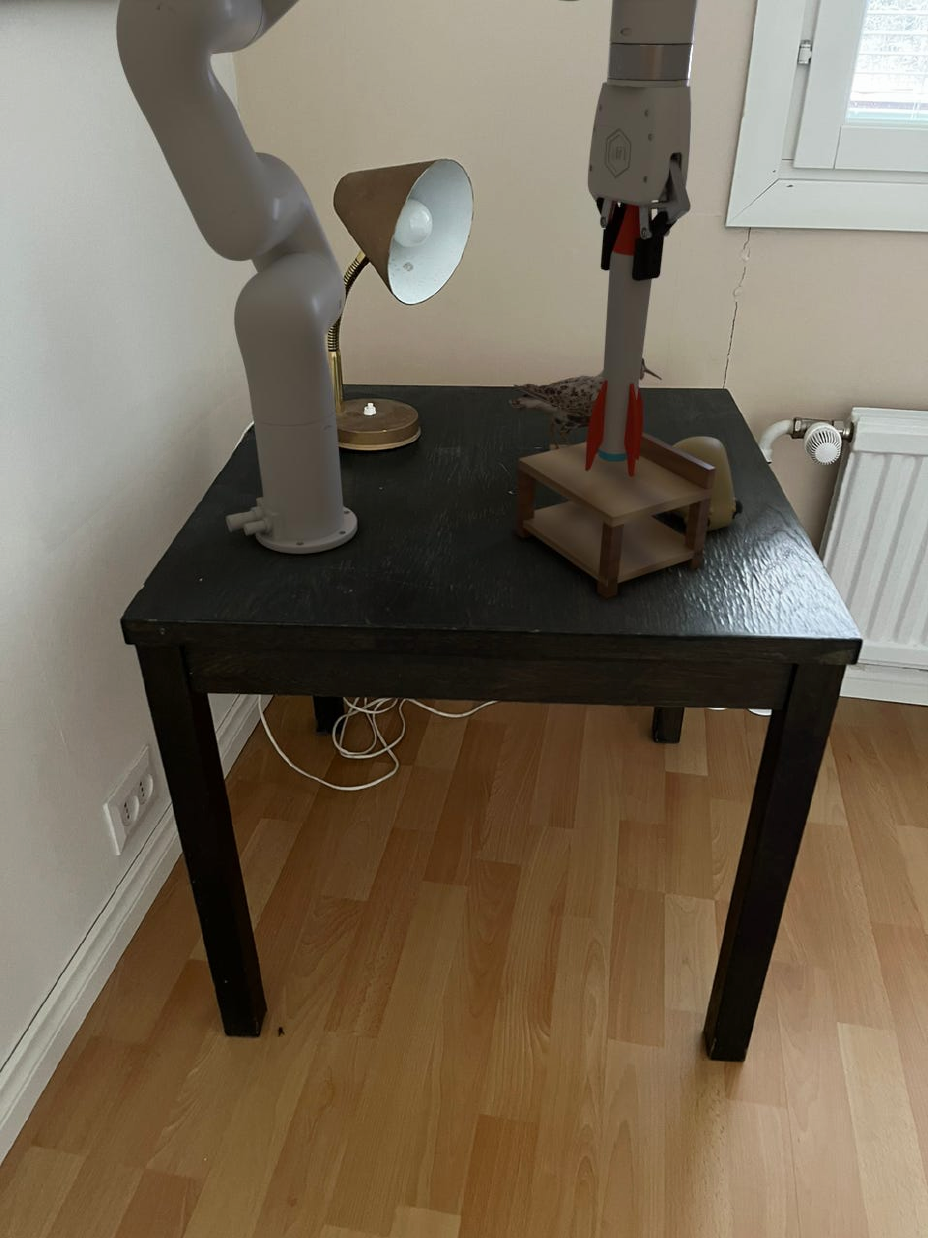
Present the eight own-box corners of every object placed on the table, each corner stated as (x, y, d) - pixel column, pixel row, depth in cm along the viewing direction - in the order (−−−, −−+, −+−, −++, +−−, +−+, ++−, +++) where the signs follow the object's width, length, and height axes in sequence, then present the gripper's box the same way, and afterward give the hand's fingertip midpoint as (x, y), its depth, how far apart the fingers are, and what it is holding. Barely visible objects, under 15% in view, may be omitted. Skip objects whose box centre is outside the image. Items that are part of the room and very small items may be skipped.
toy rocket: (633, 478, 106) (666, 184, 89) (583, 471, 107) (607, 181, 91) (641, 459, 110) (674, 176, 94) (593, 452, 111) (618, 172, 95)
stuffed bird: (657, 466, 135) (671, 345, 126) (524, 483, 130) (528, 359, 121) (628, 441, 143) (639, 325, 134) (501, 455, 138) (504, 337, 129)
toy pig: (661, 549, 122) (703, 526, 112) (632, 462, 123) (671, 431, 113) (725, 533, 125) (771, 509, 115) (696, 448, 126) (740, 416, 116)
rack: (605, 598, 105) (614, 496, 98) (515, 533, 118) (518, 439, 111) (701, 566, 111) (716, 467, 104) (605, 507, 124) (613, 416, 117)
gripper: (561, 63, 92) (551, 261, 102) (679, 72, 79) (655, 296, 89) (623, 61, 95) (607, 254, 105) (745, 70, 83) (714, 286, 93)
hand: (629, 271), depth 97 cm, fingers closed on toy rocket, 4 cm apart
